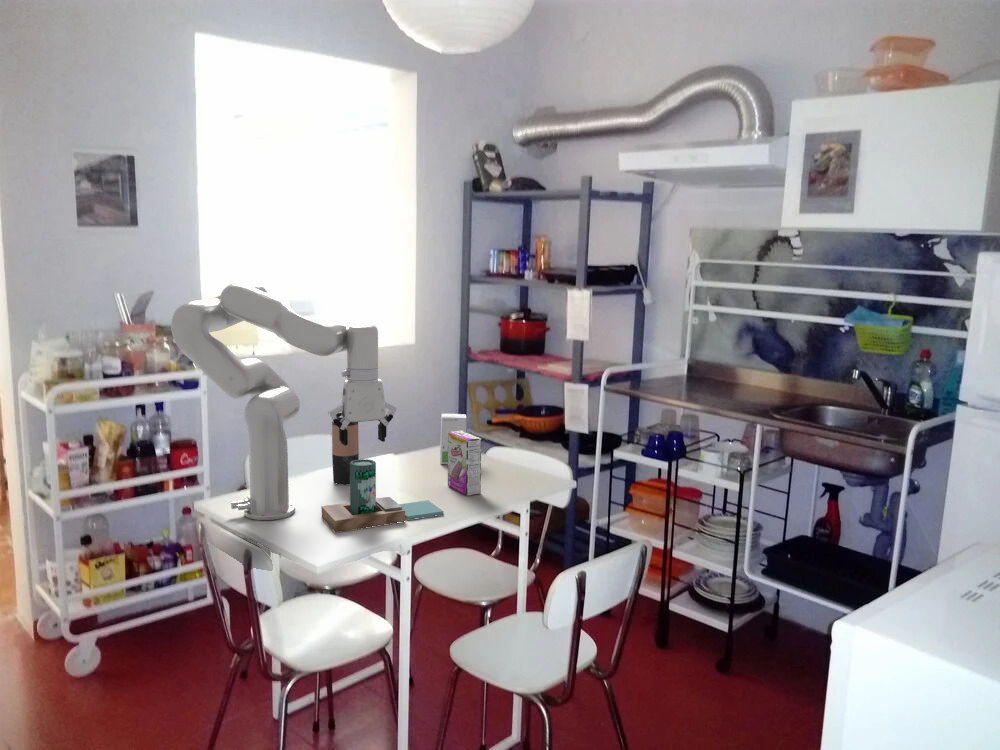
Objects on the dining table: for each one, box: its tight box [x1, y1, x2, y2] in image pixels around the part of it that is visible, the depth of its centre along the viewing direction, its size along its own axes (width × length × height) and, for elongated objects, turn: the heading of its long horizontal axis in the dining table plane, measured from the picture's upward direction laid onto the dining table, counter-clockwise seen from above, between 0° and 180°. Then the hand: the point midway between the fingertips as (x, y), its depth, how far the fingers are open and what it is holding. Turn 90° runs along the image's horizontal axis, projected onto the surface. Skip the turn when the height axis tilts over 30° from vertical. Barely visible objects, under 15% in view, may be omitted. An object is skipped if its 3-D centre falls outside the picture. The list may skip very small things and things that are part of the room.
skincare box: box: [439, 413, 468, 465], centre depth 254 cm, size 8×7×16 cm
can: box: [349, 458, 377, 515], centre depth 198 cm, size 6×6×15 cm
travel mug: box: [331, 412, 360, 486], centre depth 230 cm, size 8×8×20 cm
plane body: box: [320, 496, 406, 533], centre depth 199 cm, size 18×12×4 cm, turn 118°
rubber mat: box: [398, 499, 444, 521], centre depth 206 cm, size 10×10×1 cm
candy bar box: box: [447, 430, 482, 497], centre depth 224 cm, size 11×5×16 cm, turn 34°
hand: (363, 442), depth 196 cm, fingers open, 9 cm apart
